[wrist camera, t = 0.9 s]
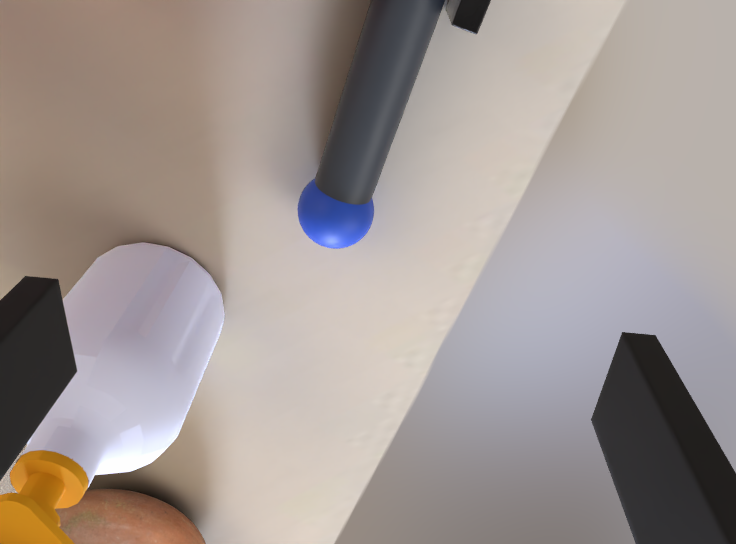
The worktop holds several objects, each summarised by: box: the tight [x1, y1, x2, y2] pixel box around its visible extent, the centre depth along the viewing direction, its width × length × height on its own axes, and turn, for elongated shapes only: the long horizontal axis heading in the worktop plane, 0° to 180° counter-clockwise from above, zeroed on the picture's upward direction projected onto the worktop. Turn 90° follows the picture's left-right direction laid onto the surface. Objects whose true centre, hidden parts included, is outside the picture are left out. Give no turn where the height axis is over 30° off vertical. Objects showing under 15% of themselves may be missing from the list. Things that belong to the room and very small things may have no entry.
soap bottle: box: [0, 242, 225, 544], centre depth 30 cm, size 9×9×25 cm
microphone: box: [298, 0, 445, 248], centre depth 32 cm, size 15×4×4 cm, turn 161°
